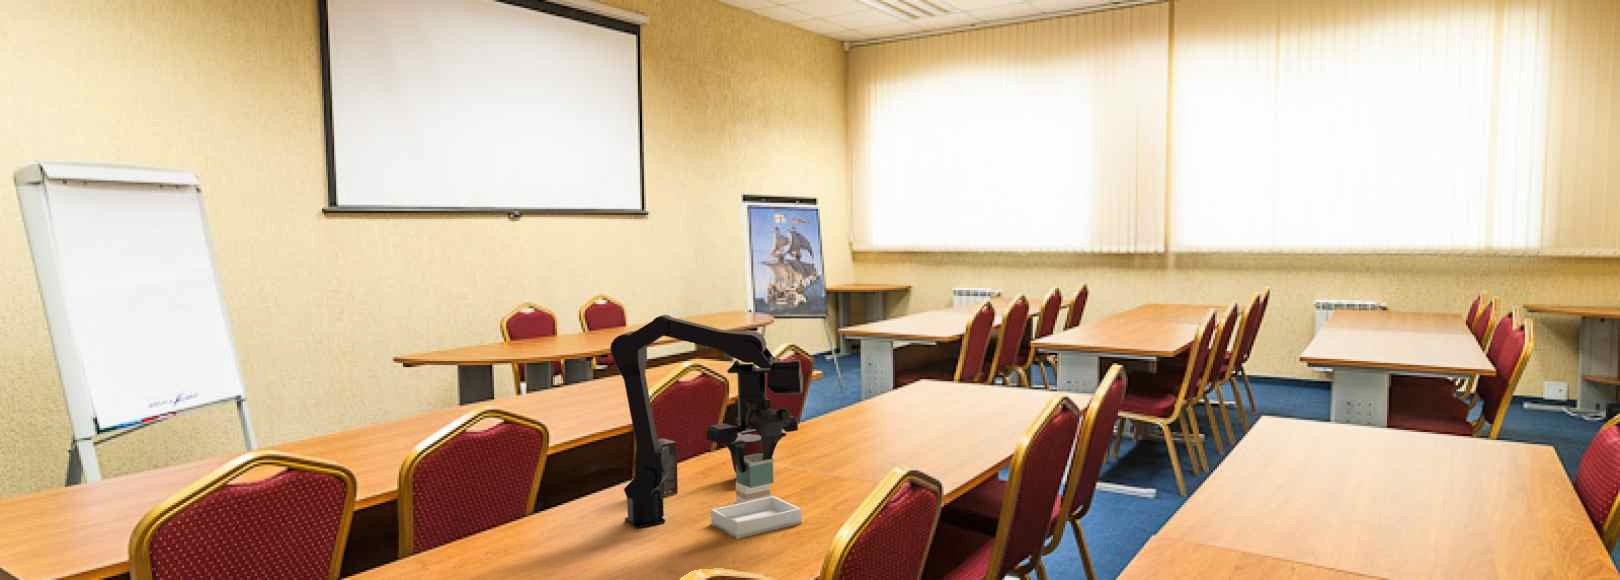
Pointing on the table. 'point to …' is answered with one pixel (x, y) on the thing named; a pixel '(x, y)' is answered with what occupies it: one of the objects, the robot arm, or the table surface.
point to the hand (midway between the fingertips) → (754, 469)
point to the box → (670, 481)
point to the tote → (756, 516)
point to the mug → (750, 446)
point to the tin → (756, 471)
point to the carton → (751, 492)
